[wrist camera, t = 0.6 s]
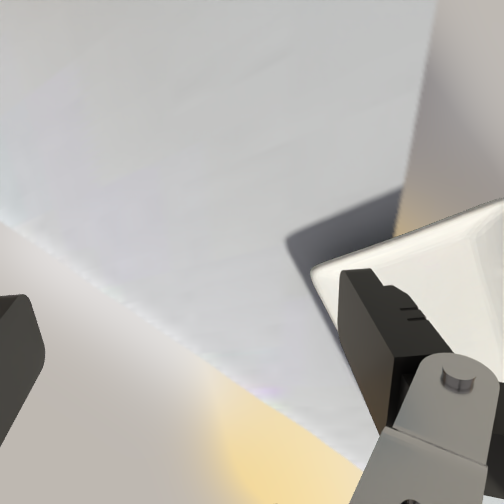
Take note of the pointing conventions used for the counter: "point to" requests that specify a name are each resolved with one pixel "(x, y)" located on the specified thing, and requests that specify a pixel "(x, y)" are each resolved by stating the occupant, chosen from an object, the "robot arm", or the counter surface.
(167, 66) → the counter surface
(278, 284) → the counter surface
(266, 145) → the counter surface
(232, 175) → the counter surface
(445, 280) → the tray
